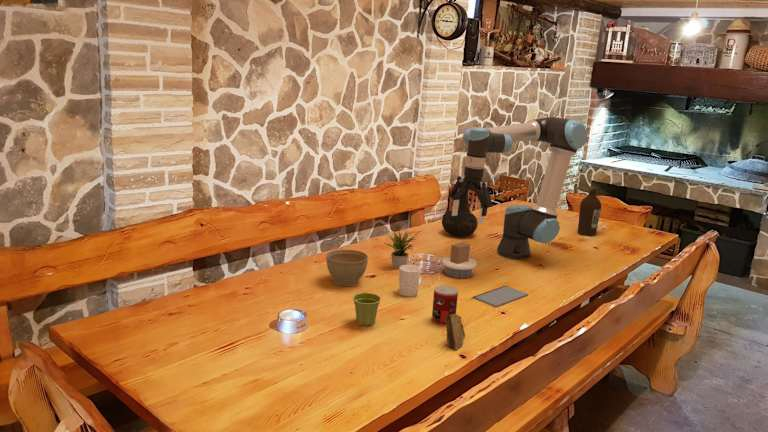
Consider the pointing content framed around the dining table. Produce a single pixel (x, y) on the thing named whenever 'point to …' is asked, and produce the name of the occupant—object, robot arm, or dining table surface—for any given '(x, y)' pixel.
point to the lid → (459, 257)
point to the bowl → (458, 272)
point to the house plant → (400, 249)
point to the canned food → (444, 303)
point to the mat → (500, 296)
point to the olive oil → (589, 214)
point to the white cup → (409, 280)
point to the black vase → (460, 219)
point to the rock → (454, 331)
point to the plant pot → (366, 308)
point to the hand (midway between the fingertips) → (467, 219)
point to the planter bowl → (346, 266)
